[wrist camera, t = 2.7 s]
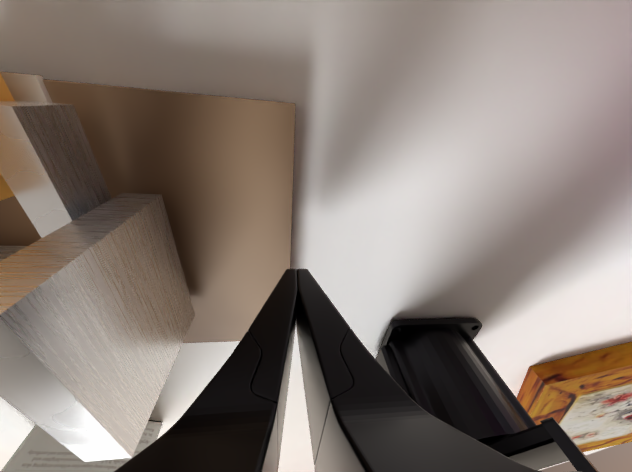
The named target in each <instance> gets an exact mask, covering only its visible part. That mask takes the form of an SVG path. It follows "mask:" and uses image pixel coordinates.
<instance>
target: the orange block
mask: <svg viewBox="0 0 632 472" xmlns="http://www.w3.org/2000/svg"><path fill="white" fill-rule="evenodd" d="M0 101H15V100H14V99H13V97H12V95H11V93H10V91H9V89H8V87H7V85H6V83H5V81H4V79H3V77H2V75H1V73H0ZM12 196H15V195H14V194H13V192H12V190H11V189H10V187H9V186H8V184H7V182H6V181H5V179H4V178H3V176H2V175H1V173H0V201H1V200H4V199H7V198H10V197H12Z"/></svg>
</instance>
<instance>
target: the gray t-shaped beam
mask: <svg viewBox="0 0 632 472" xmlns="http://www.w3.org/2000/svg"><path fill="white" fill-rule="evenodd" d="M0 173H1V175H2V176H3V178H4V179H5V181H6V182H7V184H8V186H9V187H10V189H11V190H12V192H13V194H14V195H15V197H16V198H17V200H18V201H19V203H20V205H21V206H22V208H23V209H24V211H25V213H26V214H27V216H28V217H29V219H30V220H31V222H32V224H33V225H34V227H35V228H36V230H37V231H38V233H39V235H40V236H41V239H39V240H38V241H36V242H34V243H32V244H31V245H29V246H0V397H2V398H3V399H4V400H6V401H7V402H8V403H9V404H11V405H12V406H13V407H15V408H16V409H17V410H19V411H20V412H21V413H22V414H24V415H25V416H26V417H28V418H29V419H30V420H31V421H33V422H34V423H35V424H37V425H38V426H39V427H40V428H42V429H43V430H44V431H46V432H47V433H48V434H49V435H51V436H52V437H53V438H55V439H56V440H57V441H58V442H60V443H61V444H62V445H64V446H65V447H66V448H67V449H69V450H70V451H71V452H73V453H74V454H75V455H76V456H78V457H79V458H80V459H82V460H83V461H84V462H90V461H101V460H112V459H124V458H132V456H133V454H134V452H135V449H136V447H137V445H138V443H139V440H140V438H141V436H142V434H143V431H144V429H145V427H146V425H147V422H148V420H149V418H150V416H151V413H152V411H153V409H154V407H155V404H156V402H157V400H158V398H159V395H160V393H161V391H162V389H163V386H164V384H165V382H166V380H167V377H168V375H169V373H170V371H171V368H172V366H173V364H174V362H175V359H176V357H177V355H178V352H179V350H180V348H181V346H182V343H183V341H184V339H185V337H186V334H187V332H188V330H189V328H190V325H191V323H192V321H193V319H194V316H195V312H194V309H193V305H192V302H191V298H190V295H189V291H188V287H187V284H186V280H185V277H184V273H183V270H182V266H181V262H180V259H179V255H178V252H177V248H176V245H175V241H174V237H173V234H172V230H171V227H170V223H169V220H168V216H167V213H166V209H165V205H164V202H163V198H162V195H158V194H135V193H121V194H120V195H118V196H116V197H114V198H113V199H112V198H111V196H110V193H109V191H108V189H107V186H106V184H105V181H104V179H103V176H102V174H101V171H100V169H99V166H98V164H97V161H96V159H95V156H94V154H93V151H92V149H91V146H90V144H89V141H88V139H87V137H86V134H85V132H84V129H83V127H82V124H81V122H80V119H79V117H78V114H77V112H76V109H75V107H74V105H72V104H60V103H48V102H37V101H0Z"/></svg>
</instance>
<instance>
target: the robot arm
mask: <svg viewBox="0 0 632 472" xmlns="http://www.w3.org/2000/svg"><path fill="white" fill-rule="evenodd" d="M295 327H297V335H298V343H299V351H300V358H301V366H302V374H303V382H304V389H305V397H306V405H307V413H308V420H309V428H310V436H311V444H312V451H313V459H314V465H315V472H542V471H538V470H539V469H542V468H546V467H549V466H552V465H556V464H559V463H562V462H566V461H570V462H571V463H572V465H573V466H574V467H575V468H576V470H577V471H573V472H598V470H597V469H596V468H595V467H594V466H593V464H592V463H591V462H590V461H589V459H588V458H587V457H586V456H585V455H584V453H583V452H582V451H581V450H580V449H579V447H578V446H577V445H576V444H575V443H574V441H573V440H572V439H571V438H570V437H569V435H568V434H567V433H566V432H565V431H564V430H563V429H562V427H561V426H560V425H559V424H558V423H557V422H556V421H555V419H554V418H553V417H550V418H547V419H545V420H542V421H540V422H541V423H542V424H539V425H536V424H535V422H534V421H533V420H532V418H531V417H530V416H529V414H528V413H527V412H526V410H525V409H524V408H523V406H522V405H521V404H520V402H519V401H518V400H517V398H516V397H515V396H514V394H513V393H512V392H511V390H510V389H509V388H508V386H507V385H506V384H505V382H504V381H503V380H502V378H501V377H500V376H499V374H498V373H497V372H496V370H495V369H494V368H493V366H492V365H491V364H490V362H489V361H488V360H487V358H486V357H485V356H484V354H483V353H482V352H481V350H480V349H479V348H478V346H477V345H476V344H475V342H474V341H473V339H474V337H475V336H476V335H477V333H478V332H479V330H480V329H481V328H482V324H481V323H480V321H479V320H478V319H476V318H459V319H415V320H395V321H393V322H392V323H391V324H390V325H389V328H388V330H387V333H386V336H385V338H384V341H383V343H382V346H381V348H380V350H379V353H378V355H377V358H376V359H375V358H374V357H373V356H372V355H371V354H370V352H369V351H368V350H367V349H366V348H365V346H364V345H363V344H362V343H361V341H360V340H359V339H358V337H357V336H356V335H355V333H354V332H353V331H352V329H350V327H349V325H348V324H347V323H346V321H345V320H344V318H343V317H342V316H341V314H340V313H339V312H338V310H337V309H336V308H335V306H334V305H333V304H332V302H331V301H330V299H329V298H328V297H327V295H326V294H325V293H324V291H323V290H322V289H321V287H320V286H319V284H318V283H317V282H316V280H315V279H314V278H313V276H312V275H311V274H310V272H309V271H308V270H307V269H297V270H296V269H286V270H285V272H284V274H283V275H282V277H281V278H280V280H279V282H278V283H277V285H276V286H275V288H274V289H273V291H272V293H271V294H270V296H269V297H268V299H267V300H266V302H265V304H264V305H263V307H262V308H261V310H260V311H259V313H258V315H257V316H256V318H255V319H254V321H253V323H252V324H251V326H250V327H249V329H248V331H247V332H246V333H245V335H244V337H243V338H242V340H241V341H240V343H239V344H238V346H237V347H236V349H235V350H234V352H233V353H232V354H231V356H230V357H229V358H228V360H227V361H226V362H225V364H224V365H223V366H222V367H221V369H220V370H219V371H218V373H217V374H216V375H215V376H214V377H213V379H212V380H211V381H210V382H209V384H208V385H207V386H206V387H205V389H204V390H203V391H202V392H201V394H200V395H199V396H198V397H197V399H196V400H195V401H194V402H193V403H192V405H191V406H190V407H189V408H188V410H187V411H186V412H185V413H184V414H183V416H182V417H181V418H180V419H179V420H178V421H177V422H176V423H175V424H174V425H173V426H172V427H171V428H170V429H169V430H168V431H167V432H166V433H165V434H163V435H162V436H161V437H160V438H158V439H157V440H156V441H154V442H153V443H152V444H150V445H149V446H148V447H146V448H145V449H144V450H142V451H141V452H140V453H138V454H137V455H136V456H134V457H133V458H131V459H130V460H129V461H127V462H126V463H125V464H123V465H122V466H121V467H119V468H118V469H117V470H115V471H114V472H278V465H279V457H280V449H281V441H282V433H283V425H284V416H285V408H286V400H287V392H288V384H289V376H290V368H291V360H292V352H293V344H294V336H295Z"/></svg>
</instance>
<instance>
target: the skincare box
mask: <svg viewBox="0 0 632 472" xmlns="http://www.w3.org/2000/svg"><path fill="white" fill-rule="evenodd" d="M161 426H162V422H152V421H148V422H147V425H146V427H145V429H144V431H143V434H142V436H141V438H140V440H139V443H138V445H137V447H136V449H135V452H134V454H133V456H132V458H133V457H134V456H136V455H137V454H138V453H140V452H141V451H142V450H144V449H145V448H146V447H148V446H149V445H150V444H152V443H153V442H154V441H156V440H157V437H158V434H159V431H160V429H161ZM130 459H131V458H124V459H112V460H101V461H90V462H84V461H83V460H82V459H80V458H79V457H78V456H76V455H75V454H74V453H73V452H71V451H70V450H69V449H67V448H66V447H65V446H64V445H62V444H61V443H60V442H58V441H57V440H56V439H55V438H53V437H52V436H51V435H49V434H48V433H47V432H46V431H44V430H43V429H42V428H40V427H39V426H38V425H37V424H36V425H35V426H34V428H33V429H32V430H31V432H30V433H29V434H28V436H27V437H26V438H25V440H24V441H23V442H22V444H21V445H20V446H19V448H18V449H17V450H16V452H15V453H14V454H13V456H12V457H11V458H10V460H9V461H8V462H7V464H6V465H5V466H4V468H3V469H2V470H1V472H114V471H115V470H117V469H118V468H119V467H121V466H122V465H123V464H125V463H126V462H127V461H129V460H130Z"/></svg>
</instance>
